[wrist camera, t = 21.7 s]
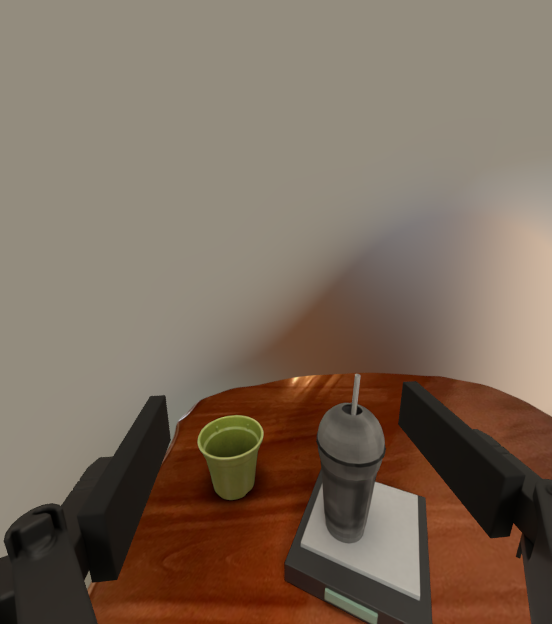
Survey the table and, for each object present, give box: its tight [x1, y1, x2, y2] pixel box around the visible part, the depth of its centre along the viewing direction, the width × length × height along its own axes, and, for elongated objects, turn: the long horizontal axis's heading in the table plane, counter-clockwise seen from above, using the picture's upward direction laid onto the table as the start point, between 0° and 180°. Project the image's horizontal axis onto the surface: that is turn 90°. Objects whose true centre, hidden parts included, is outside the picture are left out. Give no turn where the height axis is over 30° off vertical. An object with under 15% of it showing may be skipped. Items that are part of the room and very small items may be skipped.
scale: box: [285, 469, 432, 624], centre depth 34 cm, size 14×15×3 cm
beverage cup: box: [316, 374, 386, 544], centre depth 31 cm, size 7×7×20 cm
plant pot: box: [198, 415, 263, 500], centre depth 42 cm, size 9×9×9 cm
